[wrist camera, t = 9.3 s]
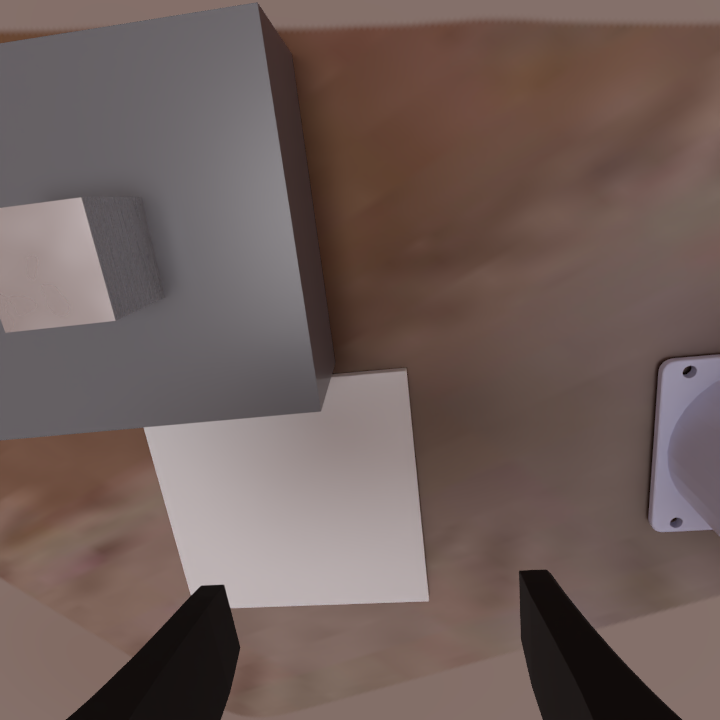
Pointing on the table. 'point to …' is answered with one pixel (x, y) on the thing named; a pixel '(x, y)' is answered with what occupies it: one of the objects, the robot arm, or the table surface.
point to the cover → (156, 229)
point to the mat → (301, 499)
